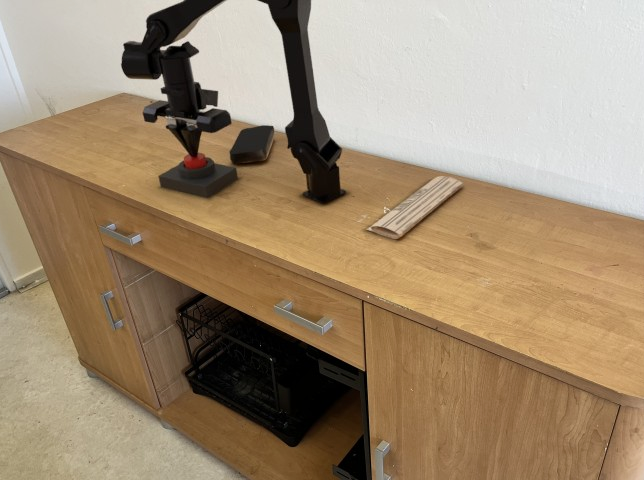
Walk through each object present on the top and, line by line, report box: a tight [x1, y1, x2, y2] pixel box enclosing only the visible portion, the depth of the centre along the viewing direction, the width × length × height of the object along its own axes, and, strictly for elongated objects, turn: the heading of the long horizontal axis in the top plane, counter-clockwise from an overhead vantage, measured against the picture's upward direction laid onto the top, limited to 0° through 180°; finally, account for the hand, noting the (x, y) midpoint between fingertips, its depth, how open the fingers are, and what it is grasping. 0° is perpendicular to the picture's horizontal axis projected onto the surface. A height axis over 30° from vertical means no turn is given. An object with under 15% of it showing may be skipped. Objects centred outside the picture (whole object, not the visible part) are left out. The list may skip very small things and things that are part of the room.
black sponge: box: [229, 124, 275, 165], centre depth 142 cm, size 16×8×4 cm, turn 177°
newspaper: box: [366, 175, 464, 240], centre depth 116 cm, size 24×7×2 cm, turn 143°
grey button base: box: [158, 156, 239, 199], centre depth 130 cm, size 13×10×4 cm
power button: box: [183, 152, 207, 169], centre depth 128 cm, size 4×4×2 cm
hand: (194, 156), depth 128 cm, fingers closed, pressing on power button
